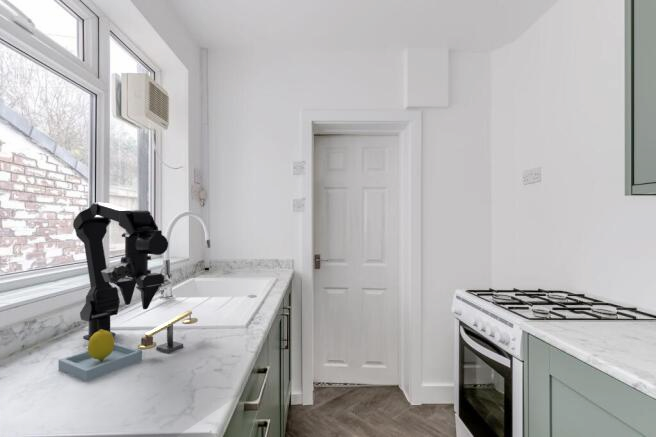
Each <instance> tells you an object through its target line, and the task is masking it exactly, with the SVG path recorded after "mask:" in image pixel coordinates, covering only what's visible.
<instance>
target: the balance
mask: <svg viewBox="0 0 656 437" xmlns="http://www.w3.org/2000/svg"><path fill="white" fill-rule="evenodd" d="M192 314H193V311H191V310H187V311H185V312H183V313H181V314H179V315H177V316H175V317H174V318H172V319H170V320H169V321H166V322H164V323H162V324H161V325H159V326H157V327H155V328H153V329H152V330H150V331H148V332H145V333H144V336H142V337H141V338H140V344H138V345H137V349H138V350H141V351H144V350H150V349H153V348H155V350H156V351H159V352H161V353H164V354H169V353H172V352H175V351H178V350H180V349H183V348H184V343H183V342H178V341H174V324H176V323H178V322H179V321H181V323H182V324H184V325H192V324H195V323H198V321H199V319H198V318H197V317H191V315H192ZM187 317H189V318H187ZM164 330H166V342H165V343H162V344H160V345H157V342H156V341H154V336H155V335H157V334H159V333H160V332H162V331H164Z"/></svg>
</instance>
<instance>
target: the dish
mask: <svg viewBox="0 0 656 437" xmlns="http://www.w3.org/2000/svg"><path fill="white" fill-rule="evenodd" d="M142 360H143V350H140V349H138V348H135V347H131V346H128V345H124V344H122V343H118V342H115V341H114V348H113V351H112V352H111V354H110V355H109V356H107V357H106V358H104V360H103V361H99V360H98V359H94V358H92V357H91V356H90V355H89V353H88V350H85V351H82V352H79V353H78V352H77V353H75V354H72V355H69V356H66V357H62V358H59V359H58V363H57V364H58V371H61V372H62V373H65V374H68V375H69V376H72V377H73V378H76V379H78V380H81V381H82V382H83V381H84V382H85V383H88V382H89V381H90V382H91V381H92V380H95V379H97V378H100V377H103V376H105V375H108V374H110V373H113V372H115V371H118V370H121V369H123V368H126V367H129V366H131V365H134V364H136V363H138V362H141V361H142Z"/></svg>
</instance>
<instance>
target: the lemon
mask: <svg viewBox="0 0 656 437" xmlns="http://www.w3.org/2000/svg"><path fill="white" fill-rule="evenodd" d="M110 332H111V331H110ZM110 332H108V331H105V330H103V329H101V330H99V331H98V332H96V333H94V334H93V335H92V336H91V338H90V340H89V339H88V344H87V351H88V353H89V355H90V356H91V357H92V358H94V359H98V360H99V361H103V360H104V358H106V357H107V356H109V355H110V354H111V352H112V351H113V348H114V342H115V338H114V335H112V334H111V333H110Z"/></svg>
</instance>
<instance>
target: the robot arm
mask: <svg viewBox="0 0 656 437" xmlns="http://www.w3.org/2000/svg"><path fill="white" fill-rule="evenodd" d="M112 221H114V222H117V223H118V226H119V227H121V228H122V229H123V230H125V232H123V233H122V234H121V238H124V242H125V243H124V244H125V245H124V256H121V258H120V262H119V263H117V264H113V265H112V266H109V267H108V266H107V262H106V261H107V260H106V255H105V249H104V242H103V239H104V238H105V237H106V234H107V232H108V230H107V228H108V226H110V224H111V222H112ZM72 223H73V224H72V226H73V229H74V232H75V234H76V237H77V238H78V239H79V240H80V241H81V242H82V243H83V244H84V251H85V259H86V264H87V269H88V270H87V272H88V278H89V284H90V288H89V290H88V292H87V295H86V296H85V304H84V306H83V307H82V309H81V310H80V312H79V316H80V320H81V321H85V322H88V323H87V324H88V328H87V329H88V333H87V334H85V335H83V337H82V338H83V339H86V340H88V341H89V340H90V338H91V336H92V335H93V334H94V333H96V332H98V331H99V330H101V329H103V330H105V331H108V332H110V333H111V334H112V335H113V336H115V335H116V332H113V331H111V316H117V315H118V312H119V309H120V303H121V301H120V296H119V291H118V290H120V293H121V296H122V299H123V302H124V304H125V305H126V306H128V305H129V306H130V304H131V301H132V300H133V296H134V292H135V288H136V289H137V290H138V291H139V292H140V297H141V304H142V305H141V306H142V309H143V310H147V309H148V308H149V306H150V304H151V303H152V301H153V299H154V296H155V295H156V293H157V291H158V290H159V288H160V287H162V285H163V284H165V278H166V277H165V276H164V274H162V273H158V272H152V269H149V261H151V260H152V256H153V255H155V256H160V255H163V254H165V252H167V250H168V247H169V241H168V238H166V236H165V235H163V234H162V230H159V226H158V225H157V224H156V221H155V220H154V216H152V213H151V211H149V210H145V209H144V210H143V209H140V210H139V209H128V208H123V207H120V206H118V205H117V206H116V205H114V204H111V203H109V202H95V203H92V204H91V205H90V206H89V208H86V209H84V210H82V211H80V212H79V213H78V214H77V216H76V217H75V218H74V219H73V221H72ZM151 255H152V256H151ZM111 284H114V285H115V286H114V287H113V285H111ZM117 287H118V288H119V289H118V288H117Z"/></svg>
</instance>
